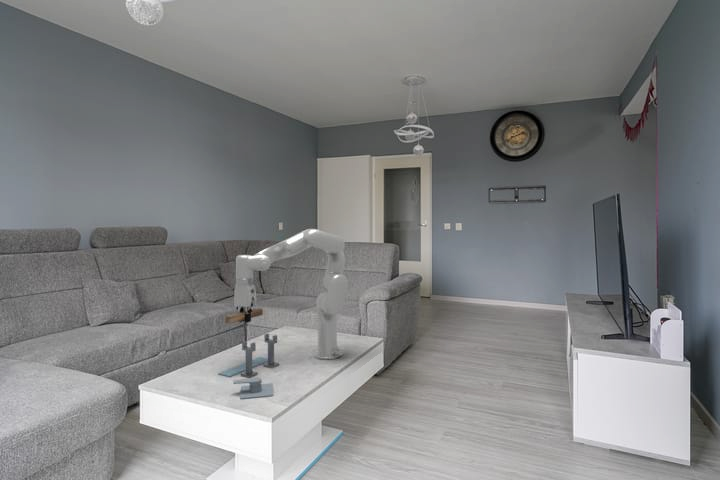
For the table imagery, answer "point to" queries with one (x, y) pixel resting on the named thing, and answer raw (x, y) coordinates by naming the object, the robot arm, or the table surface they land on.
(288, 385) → the table surface
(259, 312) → the rail
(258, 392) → the shower valve
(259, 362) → the mat
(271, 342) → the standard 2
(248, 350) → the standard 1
